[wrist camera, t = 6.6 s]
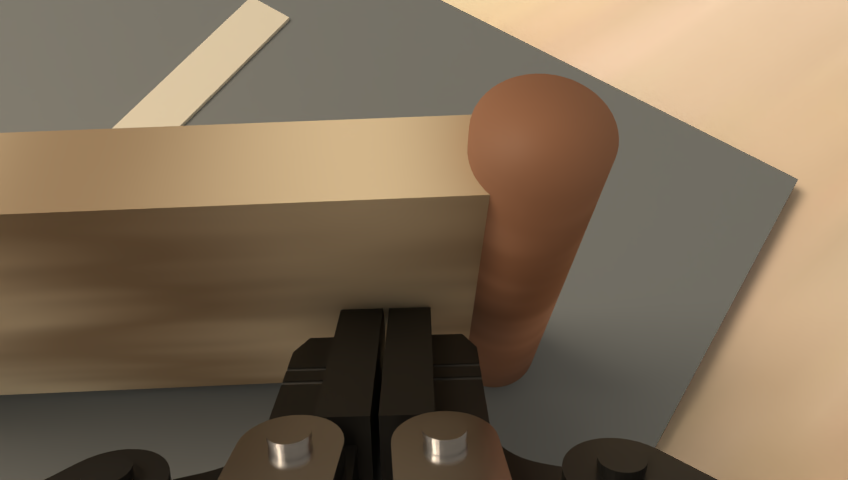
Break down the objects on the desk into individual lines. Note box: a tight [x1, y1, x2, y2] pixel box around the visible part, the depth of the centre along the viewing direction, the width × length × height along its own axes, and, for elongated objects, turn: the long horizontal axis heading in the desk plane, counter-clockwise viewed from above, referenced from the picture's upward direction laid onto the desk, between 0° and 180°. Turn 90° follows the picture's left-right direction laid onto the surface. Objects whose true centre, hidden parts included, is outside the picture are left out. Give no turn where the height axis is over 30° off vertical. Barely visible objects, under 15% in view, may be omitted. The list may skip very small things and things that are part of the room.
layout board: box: [0, 0, 798, 480], centre depth 17 cm, size 26×27×1 cm
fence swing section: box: [0, 74, 619, 395], centre depth 12 cm, size 13×2×8 cm, turn 92°
